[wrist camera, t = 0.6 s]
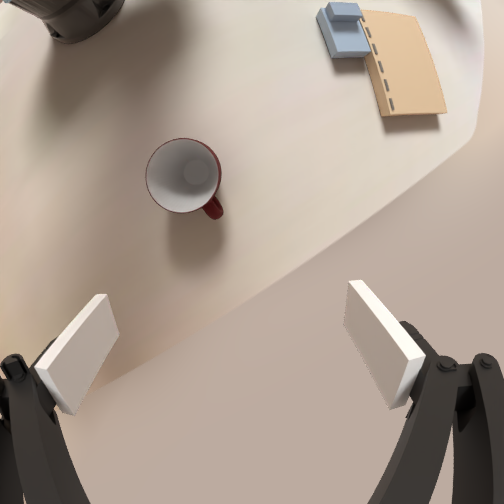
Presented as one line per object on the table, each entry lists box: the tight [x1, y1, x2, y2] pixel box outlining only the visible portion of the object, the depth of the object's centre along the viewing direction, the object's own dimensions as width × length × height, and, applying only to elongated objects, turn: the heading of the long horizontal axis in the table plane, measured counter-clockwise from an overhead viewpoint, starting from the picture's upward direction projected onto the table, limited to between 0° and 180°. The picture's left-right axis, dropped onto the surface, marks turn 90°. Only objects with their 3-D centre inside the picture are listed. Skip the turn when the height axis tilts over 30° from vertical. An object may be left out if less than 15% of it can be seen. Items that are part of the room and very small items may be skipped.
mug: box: [146, 138, 223, 220], centre depth 33 cm, size 10×8×10 cm
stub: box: [316, 2, 371, 58], centre depth 28 cm, size 8×5×5 cm
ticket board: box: [359, 10, 447, 117], centre depth 30 cm, size 18×12×3 cm, turn 14°
